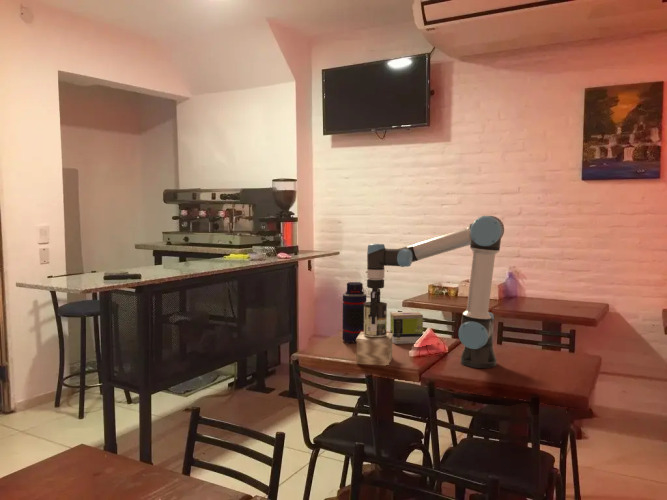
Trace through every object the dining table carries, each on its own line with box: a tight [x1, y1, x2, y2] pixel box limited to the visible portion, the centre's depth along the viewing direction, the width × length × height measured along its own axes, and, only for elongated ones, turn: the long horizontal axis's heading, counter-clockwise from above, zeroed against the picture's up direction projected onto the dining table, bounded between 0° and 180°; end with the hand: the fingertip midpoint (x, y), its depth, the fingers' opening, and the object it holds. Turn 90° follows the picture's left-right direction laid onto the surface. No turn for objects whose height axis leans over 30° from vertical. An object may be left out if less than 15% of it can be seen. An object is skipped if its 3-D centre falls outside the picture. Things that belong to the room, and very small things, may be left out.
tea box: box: [389, 311, 424, 345], centre depth 286 cm, size 15×10×15 cm, turn 94°
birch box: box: [356, 332, 393, 366], centre depth 250 cm, size 15×15×11 cm
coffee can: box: [364, 301, 388, 337], centre depth 249 cm, size 10×10×14 cm
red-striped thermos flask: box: [341, 281, 367, 344], centre depth 286 cm, size 14×12×30 cm
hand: (375, 328), depth 250 cm, fingers closed on coffee can, 10 cm apart
